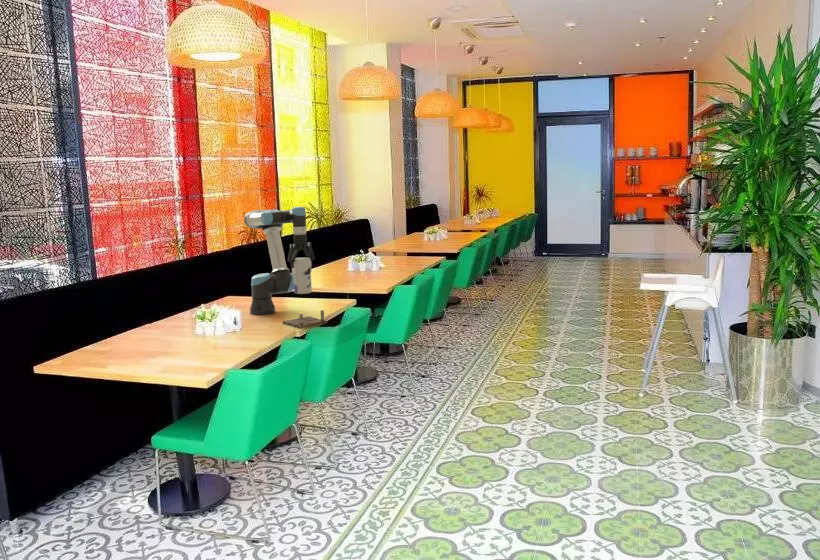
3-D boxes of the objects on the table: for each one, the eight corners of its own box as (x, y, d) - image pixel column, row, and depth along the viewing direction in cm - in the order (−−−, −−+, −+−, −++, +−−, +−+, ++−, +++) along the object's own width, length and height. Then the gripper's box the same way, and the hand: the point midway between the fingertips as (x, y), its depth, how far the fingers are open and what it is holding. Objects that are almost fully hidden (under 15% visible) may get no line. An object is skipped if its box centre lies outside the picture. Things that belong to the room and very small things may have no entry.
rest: (282, 323, 414) (282, 310, 413) (309, 318, 425) (309, 306, 424) (299, 328, 400) (299, 315, 399) (327, 323, 412) (326, 310, 411)
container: (310, 293, 418) (308, 259, 415) (293, 294, 418) (291, 259, 416) (312, 291, 428) (311, 257, 425) (295, 291, 428) (294, 257, 425)
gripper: (286, 235, 408) (288, 275, 411) (320, 232, 423) (321, 270, 426) (279, 235, 414) (281, 274, 417) (312, 232, 429) (314, 269, 432)
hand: (301, 272), depth 422 cm, fingers closed on container, 10 cm apart
